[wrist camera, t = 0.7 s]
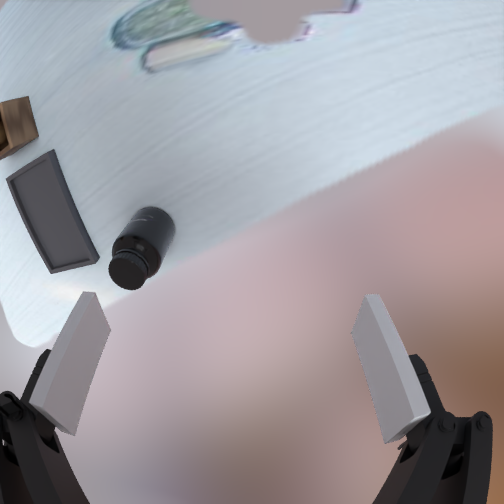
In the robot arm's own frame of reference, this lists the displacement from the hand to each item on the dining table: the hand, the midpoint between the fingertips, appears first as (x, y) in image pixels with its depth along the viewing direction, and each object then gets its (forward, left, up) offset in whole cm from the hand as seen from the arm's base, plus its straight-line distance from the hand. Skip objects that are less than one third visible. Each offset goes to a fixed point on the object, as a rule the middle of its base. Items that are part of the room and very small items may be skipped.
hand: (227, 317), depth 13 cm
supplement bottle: (+6, -15, -27) cm, 32 cm away
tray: (-1, -33, -27) cm, 42 cm away
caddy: (-18, -33, -27) cm, 46 cm away
